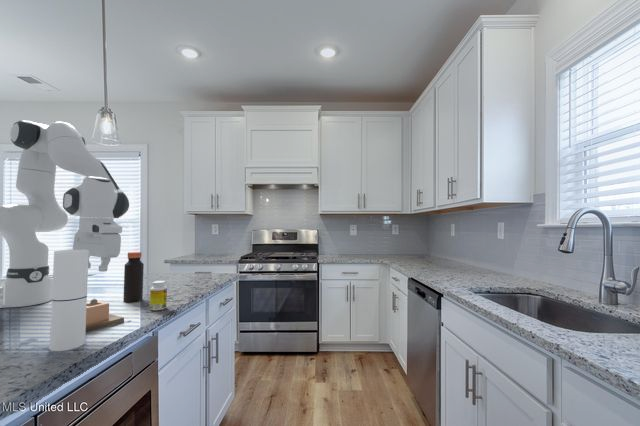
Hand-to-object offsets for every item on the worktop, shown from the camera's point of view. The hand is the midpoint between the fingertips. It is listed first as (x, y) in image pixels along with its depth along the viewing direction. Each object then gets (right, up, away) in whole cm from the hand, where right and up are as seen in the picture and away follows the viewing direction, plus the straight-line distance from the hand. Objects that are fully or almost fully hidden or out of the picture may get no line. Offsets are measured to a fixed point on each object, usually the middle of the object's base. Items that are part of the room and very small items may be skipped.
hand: (94, 269), depth 95 cm
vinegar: (-6, -18, +29) cm, 35 cm away
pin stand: (0, -17, -1) cm, 17 cm away
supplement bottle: (+11, -18, +17) cm, 28 cm away
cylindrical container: (+6, -17, -17) cm, 24 cm away
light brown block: (0, -16, -1) cm, 16 cm away
